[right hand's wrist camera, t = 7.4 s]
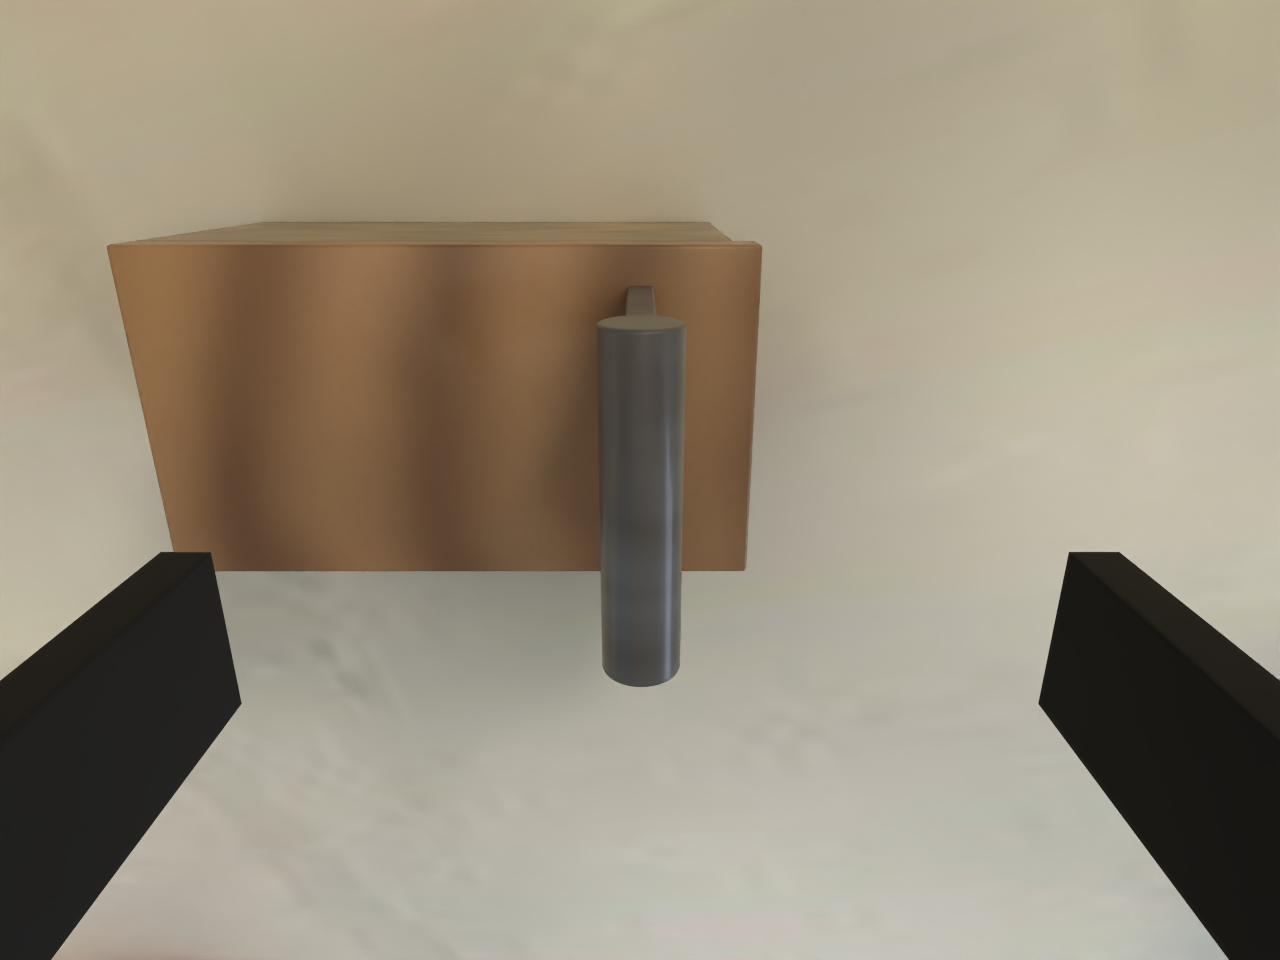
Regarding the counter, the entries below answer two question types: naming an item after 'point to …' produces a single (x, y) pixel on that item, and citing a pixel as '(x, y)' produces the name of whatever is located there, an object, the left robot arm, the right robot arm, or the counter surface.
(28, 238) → the counter surface
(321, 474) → the lid
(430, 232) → the chest
